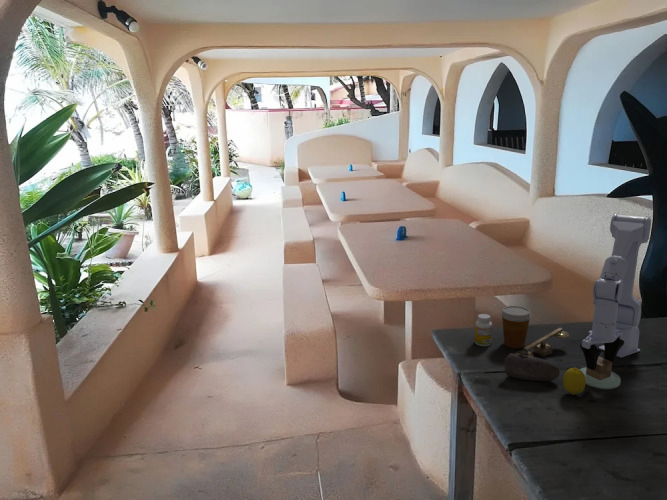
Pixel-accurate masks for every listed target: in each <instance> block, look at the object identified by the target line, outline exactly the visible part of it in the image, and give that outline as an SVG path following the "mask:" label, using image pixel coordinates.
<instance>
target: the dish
mask: <svg viewBox="0 0 667 500" xmlns="http://www.w3.org/2000/svg"><path fill="white" fill-rule="evenodd" d="M586 368H587V366H586V367H581V368H579V370H581V371H582V372H583V373H584V375H585V380H586V384H585V386H589V387H592V388H595V389H600V390H613V389H616V388H619V387H620V385H621V382H622V381H621V379H622V378H621V377H620V375H618V374H617V373H616V372H614V371H612V370H611V376H610V377H608V378H605V379H602V380H598V379H596V378H594V377H592V376H590V375H587V374H586Z"/></svg>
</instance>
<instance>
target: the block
mask: <svg viewBox="0 0 667 500" xmlns="http://www.w3.org/2000/svg"><path fill="white" fill-rule="evenodd" d="M612 366H613V365H612V362H611V361H609V360H606V359H605V358H604V357H601V356H599V357H598V360H597V365H596V368H595V370H591V369H589V368H586V374H587V375H590V376H592V377H594V378H596V379H598V380H602V379H605V378H608V377H610V376H611V371H612Z"/></svg>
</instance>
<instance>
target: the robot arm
mask: <svg viewBox="0 0 667 500" xmlns="http://www.w3.org/2000/svg"><path fill="white" fill-rule="evenodd" d="M651 227H652V219H651V217H650V216H639V215H638V216H637V215H626V214H618V213H615V214H613V215H612V217H611V219H610V225H609V232H610V234H611V237H612V238H613V239H614V241H613V247H612V252H611V256H609V257H607V258H605V261H604V264H603V266H602V270H601V271H600V272H601V273H600V276H599V279H595V281H594V284H593V289H592V292H593V293H592V298H593V301H592V303H593V305H594V309H593V317H592V318H593V319H592V327H591V329H592V330H588V336H586V338H584V339H582V340H581V342H580V344H579V348H580V349H581V351H582V353H583V355H584V359H585V363H586V367H587V368H589V369H591V370H595V368H596V365H597V360H598V357H600V355H601V354H602V352H604V356H603V358H604V359H606V360H609V361H611V362H612V364H613V363H614V362H615V360H616V357H618V358H625V357H627V356H629V355H632V354H637V353H638V352H640V351H641V349H640V348H638V347H639V338H640V329H639V325H640V322H641V318H642V317H641V316H642V303H641V301H640V300H639V299H638V298H637V297H635V295H633V294H634V292H633V291H634V285H635V279H636V273H637V272H636V270H637V265H638V264H637V263H638V258H639V257H638V256H639V251H640V247H641V245H642V244H646V243H648V242H649V240H650V235H651ZM599 344H603V345H600V346H598V347H597V345H599Z"/></svg>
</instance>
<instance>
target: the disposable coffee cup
mask: <svg viewBox="0 0 667 500" xmlns="http://www.w3.org/2000/svg"><path fill="white" fill-rule="evenodd" d="M500 316H501V317H502V318H501V319H502V321H501V322H502V331H503V342H504V343H503V344H504V345H505V346H506V347H508V348H511V349H522V348H525V344H526V338H527V334H528V329H529V325H530V319H531V318H532V313H531V310H530V309H529V308H528V307H524V306H520V305H519V306H518V305H508V306H504V307H503V308H502V309H501V310H500Z"/></svg>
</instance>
